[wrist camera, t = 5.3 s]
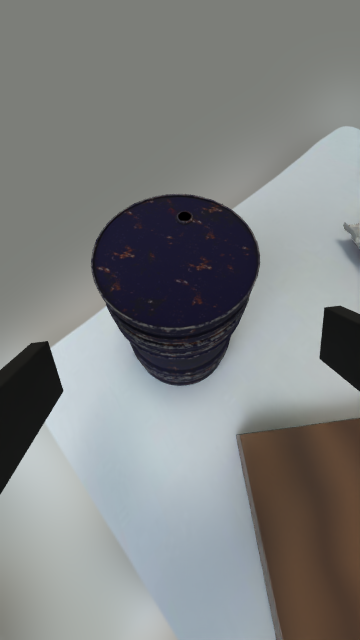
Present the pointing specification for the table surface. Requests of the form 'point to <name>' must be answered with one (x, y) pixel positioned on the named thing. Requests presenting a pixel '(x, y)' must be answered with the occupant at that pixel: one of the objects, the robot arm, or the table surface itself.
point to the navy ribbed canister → (176, 281)
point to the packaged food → (354, 232)
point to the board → (307, 525)
